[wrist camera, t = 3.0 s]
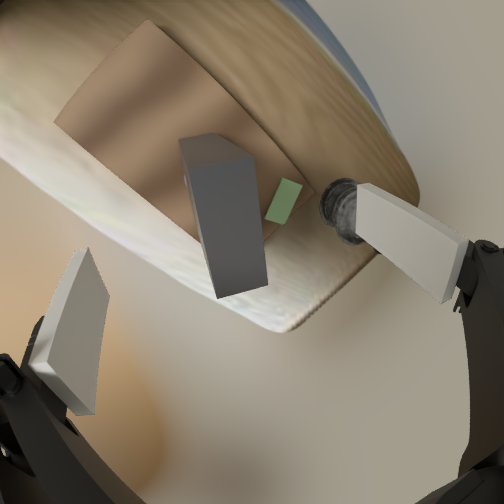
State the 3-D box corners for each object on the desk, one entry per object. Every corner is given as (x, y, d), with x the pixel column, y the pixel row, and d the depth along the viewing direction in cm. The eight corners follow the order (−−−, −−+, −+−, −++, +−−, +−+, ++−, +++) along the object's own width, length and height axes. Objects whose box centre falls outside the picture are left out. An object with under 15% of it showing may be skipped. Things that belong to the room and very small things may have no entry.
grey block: (176, 139, 19) (185, 170, 10) (214, 131, 19) (256, 155, 11) (202, 258, 24) (228, 348, 16) (234, 250, 25) (274, 334, 16)
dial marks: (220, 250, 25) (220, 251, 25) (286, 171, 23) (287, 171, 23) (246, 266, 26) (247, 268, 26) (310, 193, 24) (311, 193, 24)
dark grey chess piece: (351, 163, 26) (445, 209, 16) (372, 205, 29) (453, 261, 19) (306, 200, 26) (388, 266, 16) (332, 240, 30) (405, 309, 20)
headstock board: (59, 120, 17) (53, 121, 15) (148, 24, 15) (147, 18, 14) (230, 260, 27) (234, 269, 26) (307, 186, 26) (315, 191, 25)
